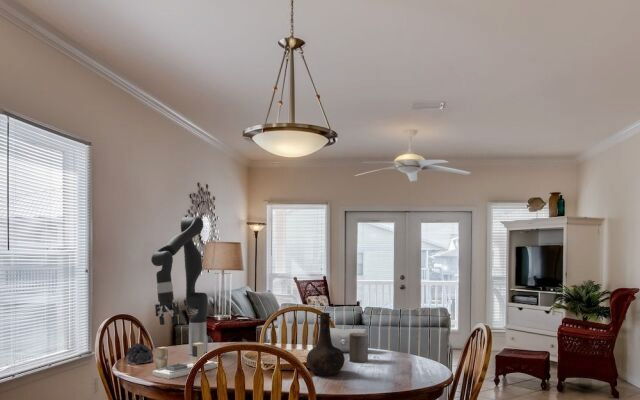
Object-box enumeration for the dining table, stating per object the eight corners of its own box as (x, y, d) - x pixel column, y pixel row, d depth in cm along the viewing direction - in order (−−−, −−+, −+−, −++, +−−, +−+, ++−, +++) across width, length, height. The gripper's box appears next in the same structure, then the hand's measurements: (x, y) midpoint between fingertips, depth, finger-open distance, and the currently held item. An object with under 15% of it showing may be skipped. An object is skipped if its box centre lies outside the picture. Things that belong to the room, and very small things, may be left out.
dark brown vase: (333, 380, 257) (333, 316, 258) (299, 375, 265) (299, 314, 267) (351, 371, 272) (350, 311, 274) (318, 367, 281) (318, 309, 283)
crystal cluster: (152, 365, 290) (154, 345, 292) (124, 364, 287) (126, 344, 289) (152, 362, 303) (154, 342, 305) (126, 361, 300) (128, 341, 302)
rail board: (202, 363, 290) (203, 339, 291) (218, 367, 283) (219, 342, 284) (152, 375, 267) (152, 348, 267) (168, 379, 259) (169, 352, 260)
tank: (320, 354, 313) (320, 331, 313) (324, 348, 328) (324, 326, 329) (366, 355, 309) (365, 332, 309) (368, 350, 324) (368, 327, 325)
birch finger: (163, 367, 283) (163, 346, 284) (167, 368, 281) (168, 347, 282) (155, 368, 280) (156, 347, 280) (160, 369, 278) (160, 348, 278)
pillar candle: (346, 362, 293) (346, 332, 294) (352, 358, 302) (352, 329, 303) (364, 363, 289) (364, 333, 290) (370, 359, 298) (370, 330, 299)
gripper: (180, 289, 286) (184, 322, 284) (161, 291, 293) (164, 323, 292) (169, 291, 279) (172, 325, 278) (149, 293, 287) (152, 326, 285)
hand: (168, 324), depth 285 cm, fingers open, 8 cm apart
